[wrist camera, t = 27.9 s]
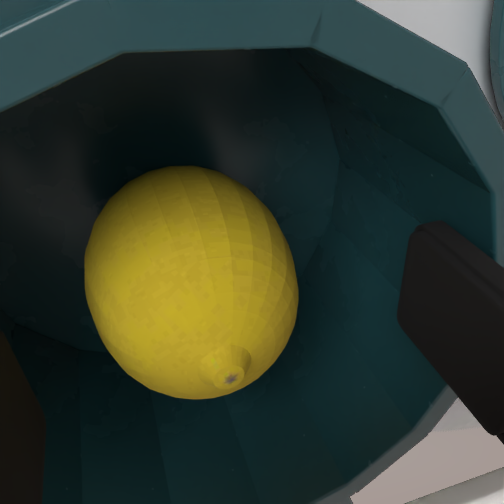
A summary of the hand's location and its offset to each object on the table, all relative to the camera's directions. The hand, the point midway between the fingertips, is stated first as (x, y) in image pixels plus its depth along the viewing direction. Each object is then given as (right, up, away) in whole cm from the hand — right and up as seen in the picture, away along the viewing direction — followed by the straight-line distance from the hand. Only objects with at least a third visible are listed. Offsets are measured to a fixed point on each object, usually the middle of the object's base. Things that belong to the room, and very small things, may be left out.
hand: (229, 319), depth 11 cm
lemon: (-2, +3, +6) cm, 7 cm away
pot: (-3, +3, +6) cm, 7 cm away
